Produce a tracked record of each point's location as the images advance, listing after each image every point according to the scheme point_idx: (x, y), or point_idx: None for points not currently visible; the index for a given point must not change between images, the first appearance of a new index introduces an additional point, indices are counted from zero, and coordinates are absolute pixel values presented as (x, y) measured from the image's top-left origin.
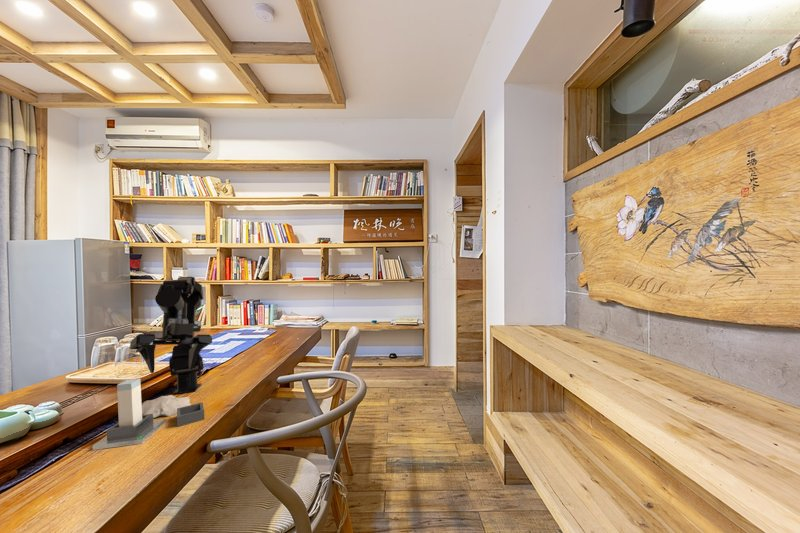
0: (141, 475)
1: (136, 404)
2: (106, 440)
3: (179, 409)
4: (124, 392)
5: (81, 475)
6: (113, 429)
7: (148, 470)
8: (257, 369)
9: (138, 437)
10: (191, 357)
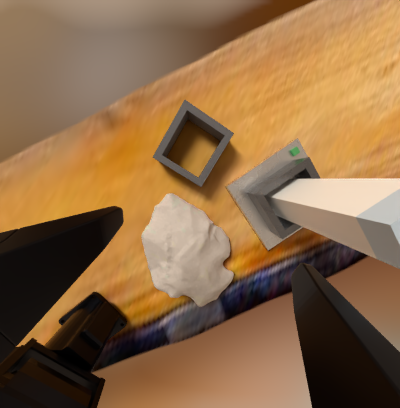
0: (365, 12)
1: (321, 190)
2: None
3: (203, 173)
4: None
5: (381, 128)
6: None
7: (352, 16)
8: None
9: (297, 149)
10: (41, 270)
